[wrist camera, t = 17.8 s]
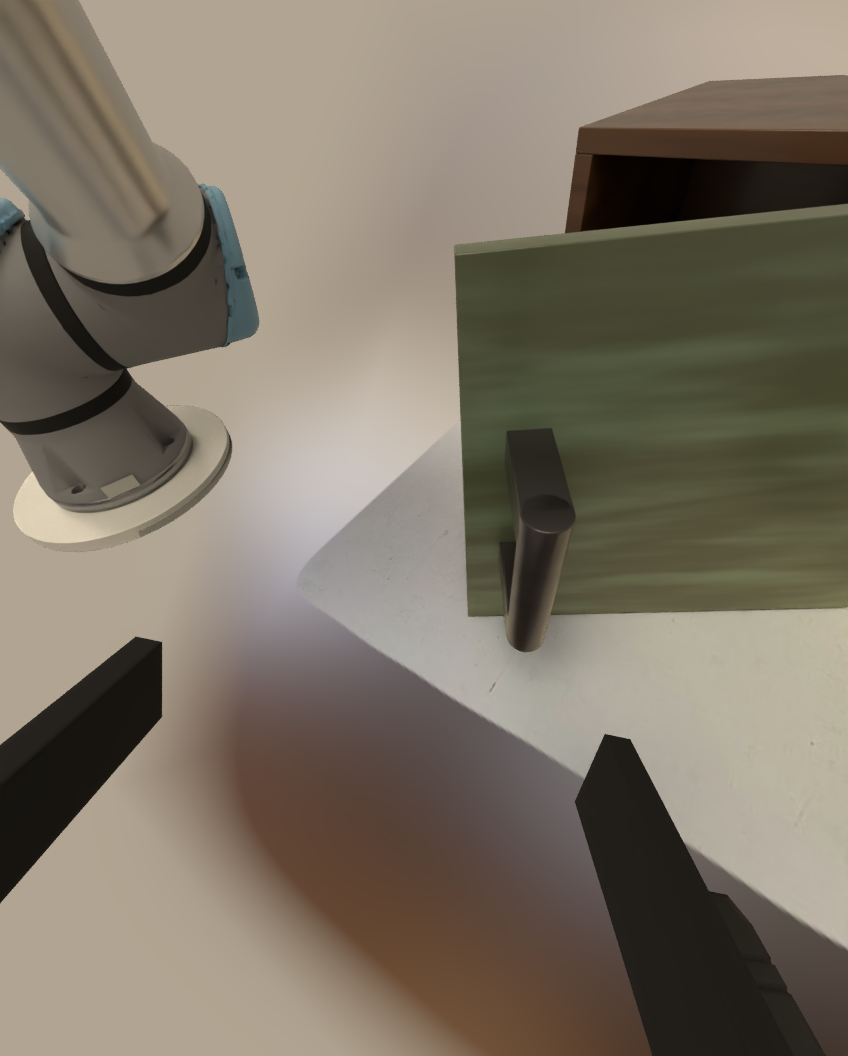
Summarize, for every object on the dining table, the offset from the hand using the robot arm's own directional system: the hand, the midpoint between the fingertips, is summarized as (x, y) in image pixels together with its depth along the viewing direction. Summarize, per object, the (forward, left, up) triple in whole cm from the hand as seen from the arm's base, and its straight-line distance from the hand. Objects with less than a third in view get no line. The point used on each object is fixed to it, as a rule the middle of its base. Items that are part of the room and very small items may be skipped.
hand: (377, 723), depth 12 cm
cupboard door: (+5, +18, -16) cm, 24 cm away
